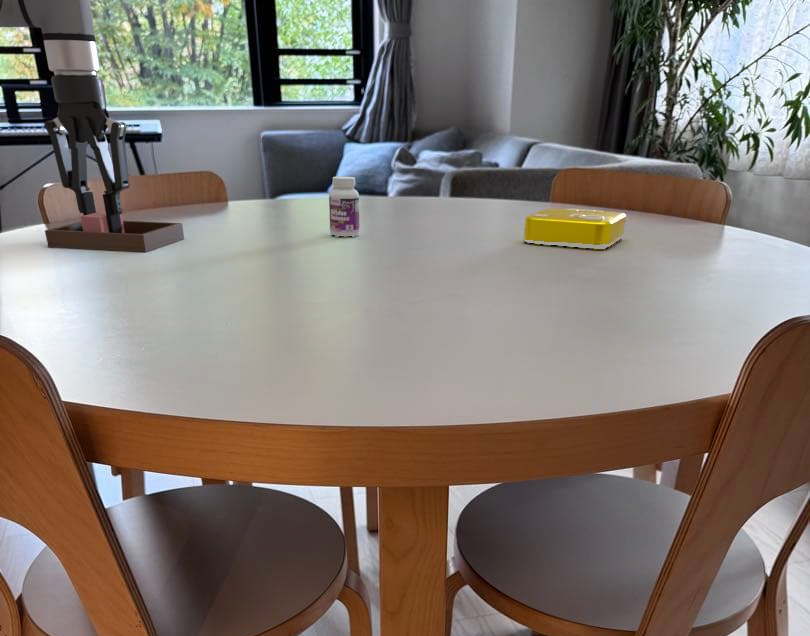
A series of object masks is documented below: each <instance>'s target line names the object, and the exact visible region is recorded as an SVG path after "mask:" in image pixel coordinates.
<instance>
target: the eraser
mask: <svg viewBox="0 0 810 636" xmlns="http://www.w3.org/2000/svg"><path fill="white" fill-rule="evenodd" d="M119 217H120V223H121V229H122V233H125V231H124V224H123V221H124V219H123V213H122V214H119ZM79 218H80V222H81V223H82V228H83V231H85V232H106V233H109V228H108V223H107V217H106V211H105V210H101V211H98V212H97V211H96V213H93V214H88V215H84V216H83V215H80V217H79Z"/></svg>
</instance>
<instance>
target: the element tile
mask: <svg viewBox="0 0 810 636" xmlns="http://www.w3.org/2000/svg"><path fill="white" fill-rule="evenodd" d="M626 218H627V215H626V214H625V213H624V212H618V211H617V212H616V211H603V210H594V209H583V208H582V209H581V208H579V209H578V208H558V207H549V208H546V209H543V210H540V211H538V212H534V213H533V214H532V213H531V214H530V215H527V216H525V220H524V221H525V222H524V233H523V234H524V235H523V240H524V239H526V240H533V241H544V242H566V243H567V242H568V243H582V244H593V245H600V244H601V245H602V244H609V243H611V242H612V241H614V240H615V239H616V238H618V237H619V236H621V235H622V234H623V235H624V232H625V225H626ZM619 242H620V241H618V242H617V243H619ZM617 243H615V244H614V245H616V244H617ZM526 244H528V245H530V244H529V243H526ZM532 245H533V246H541V245H540V244H532ZM614 245H612V246H611V247H613V246H614ZM544 246H545V247H552V246H551V245H544ZM555 247H556V248H557V247H558V248H564V247H563V246H555ZM611 247H609V248H610V249H611ZM567 248H568V249H569V248H571V249H575V248H574V247H567ZM609 248H608V249H609ZM578 249H582V250H587V249H586V248H578ZM590 250H593V251H604V250H606V249H590Z"/></svg>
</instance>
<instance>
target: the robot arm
mask: <svg viewBox="0 0 810 636" xmlns="http://www.w3.org/2000/svg"><path fill="white" fill-rule="evenodd" d="M91 8H92V7H91V1H90V0H0V28H31V29H37V28H41V29H40V30H41V33H42V38H43V45H44V50H45V55H46V60H47V66H48V70H49V71H50V72H53V74H54V75H52V77H51V79H50V81H51V85H52V90H53V95H54V100H55V102H56V104H57V107H58V109H57V115H56V116H57V117H55V118H53V119H52V120H45V121H44V123H43V126H44V128H45V130H46V132H47V134H48V136H49V137H50V141H51V144H52V147H53V148H52V149H53V152H54V156H55V161H56V165H57V169H58V173H59V177H60V181H61V185H62V187H63V188H65V189H69V190H71V191H73V192H74V194H75V199H76V204H77V208H78V212H79V213H80V214H82V216H84V215H88V214H93V213H97V209H96V204H95V203H96V202H95V199H94V198H95V197H94V194H93V193H94V192H93V191H90V190H91V187H88V164H87V148H88V146H89V147H90V148H91V150H92V151H93V154H94V157H95V160H96V163H97V167H98V170H99V172H100V175H101V178H102V182H103V186H104V188H105V190H104V191H103V194H102V199H103V205H104V211H106V217H107V223H108V228H109V233H122V229H121V223H120V217H119V214H122V215H123V206H122V200H121V192H123V191H124V190H128V189H129V188H130V176H129V167H128V159H127V149H126V141H125V139H126V132H127V124H126V123H125V122H124V121H121V122H120V121H117V120H115V119H113V118H112V117H111V116H110V113H109V112H108V110H107V108H106V101H107V100H106V93H105V87H104V82H103V81H104V80H103V79H102V78H101V76H99V75H98V73H100V72H101V65H100V64H101V63H100V59H99V53H98V46H97V40H96V36H95V29H94V22H93V16H92V9H91ZM65 131H66V132H67V133H68V140H67V136H66V134H65ZM106 132H108V134H109V143H108V140H107V139H108V138H107V136H106ZM88 144H89V145H88ZM109 145H110V150H109V148H108V147H109ZM69 147H70V148H69ZM109 151H110V152H109ZM110 153H111V154H110Z"/></svg>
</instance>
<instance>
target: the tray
mask: <svg viewBox="0 0 810 636" xmlns="http://www.w3.org/2000/svg"><path fill="white" fill-rule="evenodd" d="M123 224H124V231H125V233H106V232H85V231H83V228H82V223H81V221H78V222H74V223H70V224H66V225H62V226H56V227H53V228H49V229H45V230H44V235H45V239H46V244H47V248H56V249H57V248H59V249H74V250H94V251H95V250H96V251H113V252H114V251H116V252H132V253H133V252H136V253H147V252H150V251H155V250H157V249H159V248H162V247H165V246H169V245H171V244H173V243H176V242H180V241H183V240H184V239H185V235H184V234H185V233H184V227H183V223H182V222H164V221H141V220H123Z"/></svg>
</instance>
